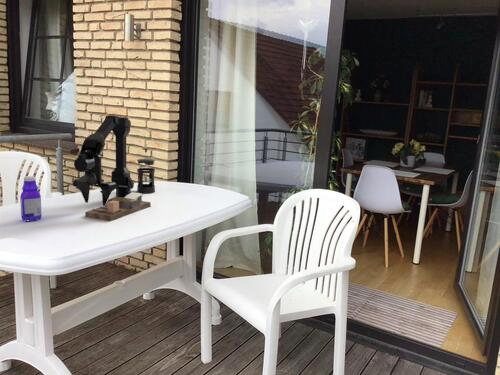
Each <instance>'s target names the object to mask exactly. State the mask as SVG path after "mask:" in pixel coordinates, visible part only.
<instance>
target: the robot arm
mask: <svg viewBox="0 0 500 375" xmlns="http://www.w3.org/2000/svg"><path fill="white" fill-rule="evenodd" d="M131 126H132V121H131V120H130V118H128V117H124V116H123V117H121V116H118V115H113V114H109V115H105V118H104V120H103V122H102V123H101V124H100V125H99V127H98V128H97V130H96V131H95V132H94V133H92V134H89V135H88V136H87V137H86V138H85V139H84V140H83V143H82V145H81V148H80V151H79V154H78V155H77V158H76V159H75V160H74V162H73V166H74V168H75V170H76V171H78V172H84V175H82V176H80V177H79V178H75V179H74V180H73V181H72V186H73V187H75V189H77V190H79V191H80V193H81V195H82V197H83V200H84V203H86V204H88V203H89V197H90V191H91V190H90V188H91V187H97V188H99V189H100V190H99V192H100V193H101V198H102V202H101V203H102V207H103V206H106V205H107V202H108V199H110V196H111V194H112V192H114V191H115V197H123V198H124V197H125V195H127V194H130V193H131V192H132V189H134V187H135V183H134V181H133V179H132V178H131V173H130V170H129V168H128V167H127V137H128V135H129V133H130V132H131ZM111 132H112V133H113V135H114V136H115V168H114V169H113V170H112V171H111V173H110V174H111V178H110V180H111V181H105V180H104V178H102V177H103V175H102V174H103V173H104V172H105V170H104V169H102V157H103V156H104V153H102V151H103V150H104V148H105V146H106V142H105V141H106V139H107V138H108V136H110V133H111Z"/></svg>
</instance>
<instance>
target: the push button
mask: <svg viewBox="0 0 500 375" xmlns="http://www.w3.org/2000/svg"><path fill="white" fill-rule="evenodd" d="M110 199H111V200H117V201H124V202H130V203H132V202H135V201H137V200H136V199H129V198H123V197H116V196H114V197H111V198H110Z"/></svg>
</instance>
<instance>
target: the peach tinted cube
mask: <svg viewBox="0 0 500 375" xmlns="http://www.w3.org/2000/svg"><path fill="white" fill-rule="evenodd" d="M106 205H108V211H109V212H116V211H119V201H114V200H113V201H110V202H108V201H107V202H106Z"/></svg>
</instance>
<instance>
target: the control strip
mask: <svg viewBox="0 0 500 375" xmlns="http://www.w3.org/2000/svg"><path fill="white" fill-rule="evenodd" d="M127 195H128V194H127ZM127 195H125V197H126V196H127ZM142 198H143V196H139V197H138V200H137V201H135V202H132V203H130V202H124V201H119V211H116V212H109V211H108V205H107V204H106V205H104V206H103V205H102V206H99V207H97V208H93V209H91V210H90V209H89V210H87V211H84V215H85V217H86V218H89V219H96V220H103V221H109V222H112V221H115V220H117V219H120V218H123V217H125V216H128V215H130V214H134V213H137V212H140V211H141V210H145V209H147V208H150V207H151V206H152V205H151V202H150V201H145V200H142ZM110 201H113V200H111V198H108V200H107V202H110ZM114 201H117V200H114Z"/></svg>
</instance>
